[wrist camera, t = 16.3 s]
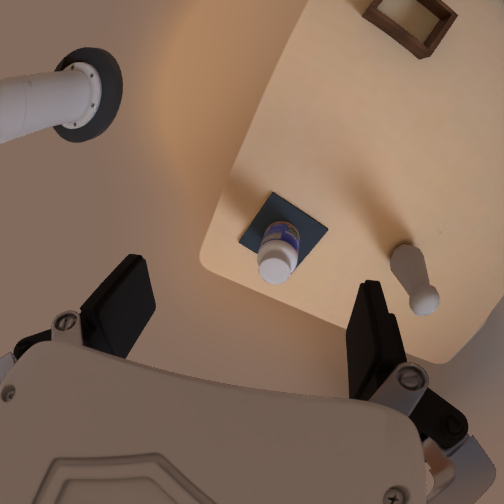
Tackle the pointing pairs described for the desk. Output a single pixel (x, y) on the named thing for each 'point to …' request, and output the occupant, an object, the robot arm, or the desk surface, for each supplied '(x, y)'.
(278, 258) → the pill bottle
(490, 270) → the desk surface
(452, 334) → the desk surface
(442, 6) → the caddy
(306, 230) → the mat
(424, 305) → the salt shaker
